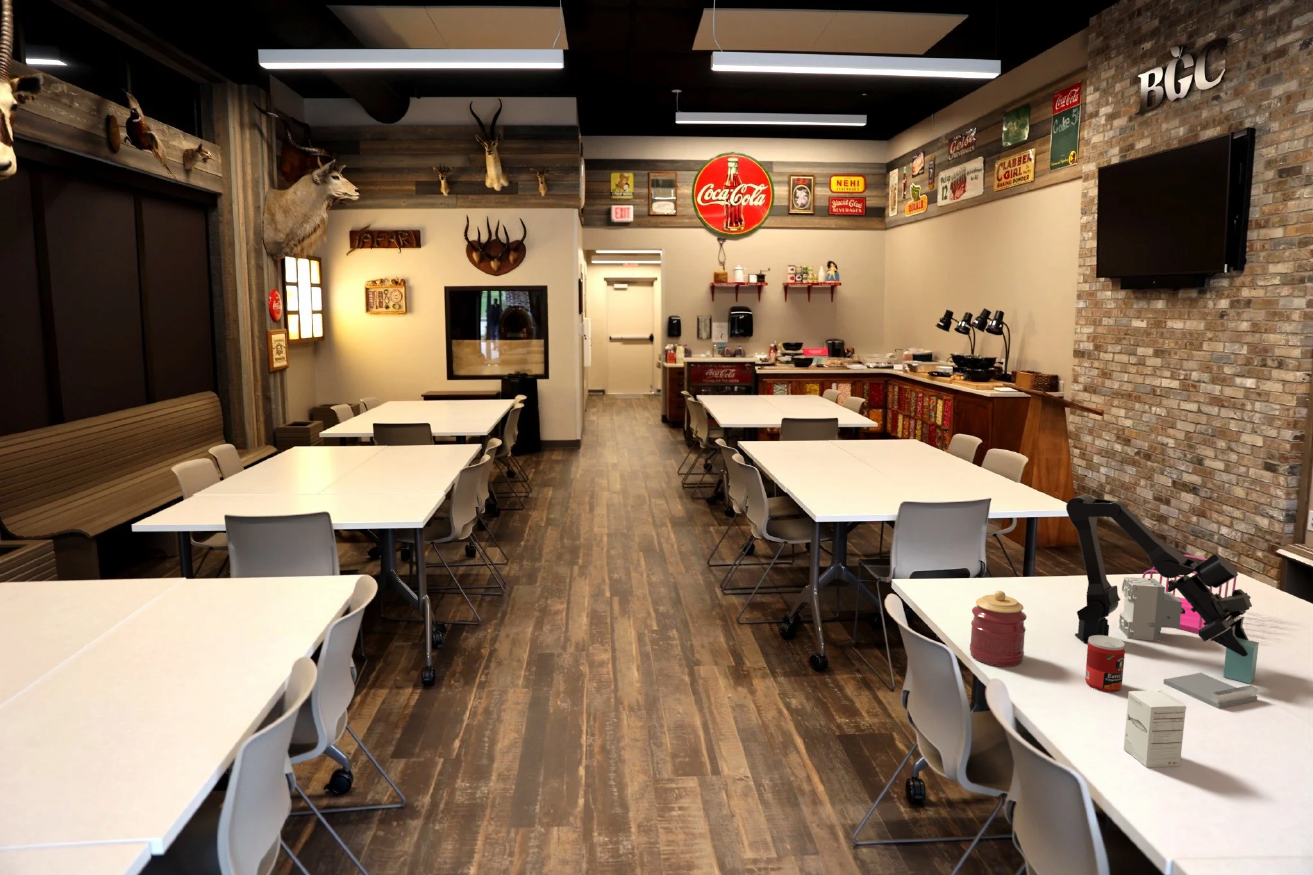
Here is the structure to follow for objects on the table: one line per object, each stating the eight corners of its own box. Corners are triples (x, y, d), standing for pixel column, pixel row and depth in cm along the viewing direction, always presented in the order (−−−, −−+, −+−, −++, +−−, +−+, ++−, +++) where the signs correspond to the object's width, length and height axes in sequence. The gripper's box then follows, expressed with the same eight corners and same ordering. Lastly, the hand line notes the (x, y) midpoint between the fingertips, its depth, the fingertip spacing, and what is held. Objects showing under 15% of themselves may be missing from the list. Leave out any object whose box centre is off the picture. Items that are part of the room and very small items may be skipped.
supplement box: (1122, 749, 175) (1127, 690, 173) (1156, 747, 176) (1162, 688, 174) (1145, 768, 168) (1151, 706, 166) (1181, 766, 168) (1187, 705, 167)
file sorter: (1235, 616, 253) (1240, 564, 251) (1201, 635, 237) (1207, 580, 235) (1170, 600, 266) (1175, 551, 264) (1135, 618, 251) (1139, 566, 249)
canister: (977, 644, 231) (981, 580, 228) (1028, 655, 223) (1033, 589, 221) (963, 659, 220) (966, 592, 218) (1016, 671, 213) (1021, 602, 210)
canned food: (1108, 695, 200) (1111, 649, 198) (1077, 682, 207) (1080, 638, 205) (1129, 688, 203) (1133, 643, 202) (1098, 676, 210) (1101, 632, 209)
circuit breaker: (1185, 642, 232) (1190, 588, 230) (1127, 638, 235) (1131, 585, 233) (1174, 632, 239) (1179, 580, 237) (1118, 628, 242) (1122, 576, 240)
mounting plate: (1163, 683, 206) (1164, 671, 206) (1200, 676, 210) (1201, 664, 210) (1218, 708, 193) (1219, 695, 193) (1256, 700, 197) (1258, 688, 197)
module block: (1223, 676, 210) (1227, 641, 208) (1228, 671, 213) (1231, 636, 212) (1250, 683, 206) (1254, 647, 205) (1254, 678, 209) (1258, 642, 208)
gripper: (1219, 588, 202) (1270, 647, 196) (1239, 572, 215) (1288, 626, 209) (1178, 612, 209) (1226, 669, 203) (1200, 595, 222) (1246, 648, 216)
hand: (1248, 652), depth 207 cm, fingers closed on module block, 4 cm apart
